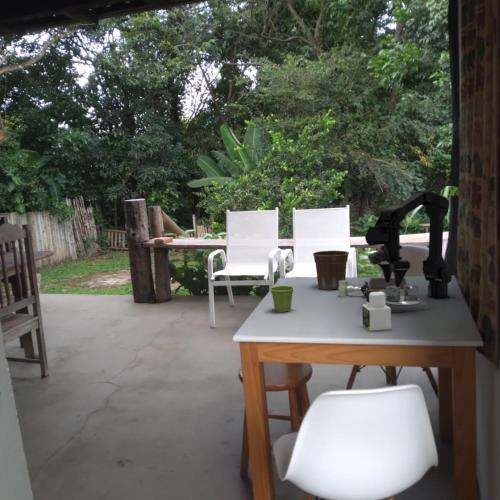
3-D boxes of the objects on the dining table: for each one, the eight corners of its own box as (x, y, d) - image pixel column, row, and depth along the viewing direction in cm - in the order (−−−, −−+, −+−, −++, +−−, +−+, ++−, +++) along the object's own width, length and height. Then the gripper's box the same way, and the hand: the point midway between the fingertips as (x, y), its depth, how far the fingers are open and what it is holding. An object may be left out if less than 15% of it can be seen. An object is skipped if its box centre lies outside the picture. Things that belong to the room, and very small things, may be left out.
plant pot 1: (297, 307, 189) (296, 285, 188) (291, 313, 181) (290, 291, 180) (274, 307, 193) (273, 285, 191) (267, 313, 184) (266, 290, 183)
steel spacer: (397, 298, 184) (396, 285, 183) (402, 301, 179) (402, 288, 178) (384, 299, 183) (383, 286, 182) (389, 302, 178) (388, 289, 178)
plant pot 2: (355, 285, 225) (354, 250, 223) (342, 292, 211) (340, 255, 209) (322, 283, 233) (321, 250, 231) (308, 290, 220) (306, 255, 218)
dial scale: (411, 300, 189) (411, 294, 189) (429, 309, 175) (429, 302, 175) (369, 304, 187) (369, 298, 187) (383, 313, 173) (383, 306, 173)
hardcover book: (405, 282, 226) (405, 277, 225) (407, 293, 204) (407, 288, 203) (370, 282, 230) (370, 278, 230) (368, 293, 208) (368, 288, 208)
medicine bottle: (362, 325, 161) (361, 289, 159) (383, 323, 162) (382, 288, 160) (369, 331, 154) (368, 294, 152) (391, 329, 154) (390, 292, 153)
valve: (337, 297, 202) (366, 298, 197) (336, 282, 201) (365, 283, 196) (340, 294, 208) (368, 295, 203) (340, 279, 207) (368, 279, 202)
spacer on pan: (414, 297, 184) (414, 284, 184) (420, 299, 179) (420, 286, 179) (401, 298, 184) (401, 285, 183) (407, 301, 179) (407, 287, 178)
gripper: (361, 241, 186) (362, 281, 188) (380, 247, 168) (381, 291, 170) (389, 239, 187) (390, 279, 189) (410, 245, 169) (411, 288, 171)
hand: (392, 284), depth 180 cm, fingers open, 9 cm apart
